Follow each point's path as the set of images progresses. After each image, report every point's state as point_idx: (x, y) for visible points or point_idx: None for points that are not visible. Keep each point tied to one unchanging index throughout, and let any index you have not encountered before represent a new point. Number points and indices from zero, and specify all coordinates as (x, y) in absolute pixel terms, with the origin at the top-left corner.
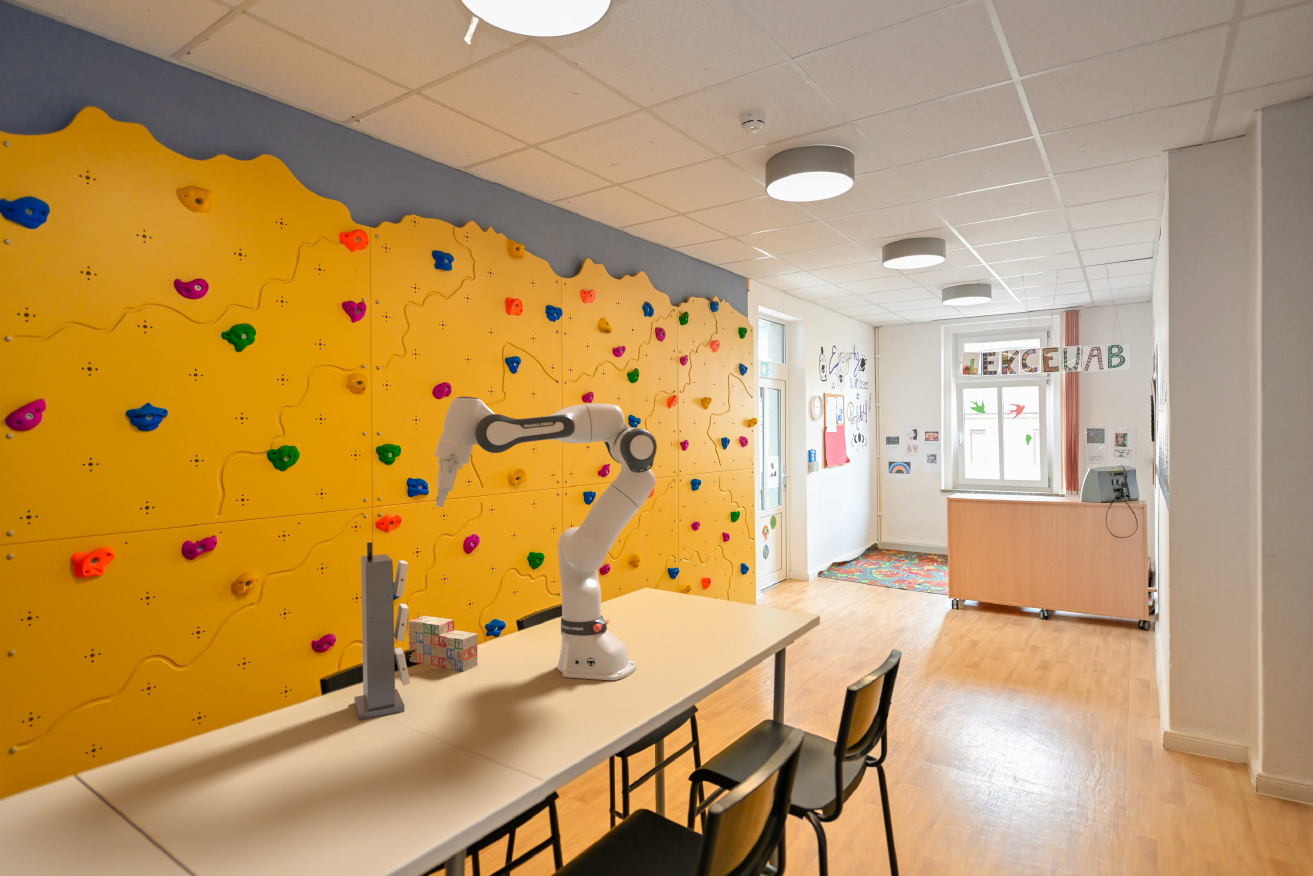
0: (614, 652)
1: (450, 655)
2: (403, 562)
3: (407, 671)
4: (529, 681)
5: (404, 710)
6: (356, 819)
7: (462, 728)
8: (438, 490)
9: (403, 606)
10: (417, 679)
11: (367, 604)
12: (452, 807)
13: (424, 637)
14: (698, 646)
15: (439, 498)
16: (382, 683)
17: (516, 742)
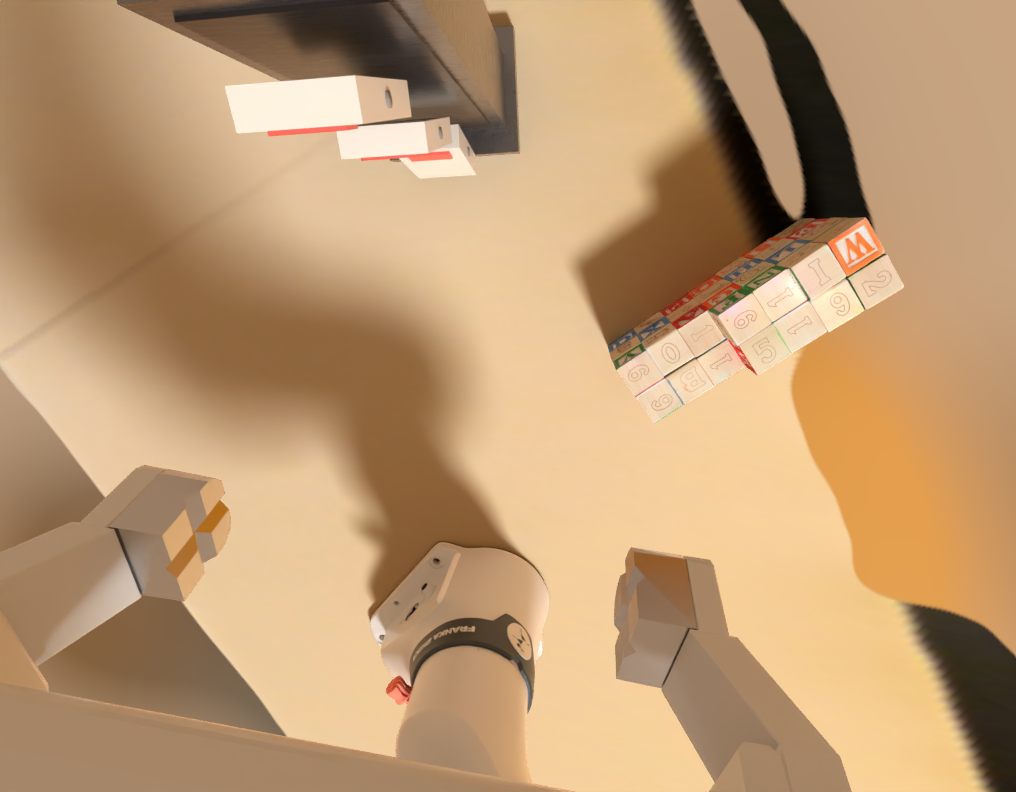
0: (386, 668)
1: (654, 327)
2: (272, 104)
3: (410, 168)
4: (453, 471)
5: (394, 161)
6: None
7: (245, 274)
8: (763, 725)
9: (371, 136)
10: (615, 221)
11: None
12: None
13: (764, 265)
14: None
15: (55, 546)
16: None
17: (146, 357)
